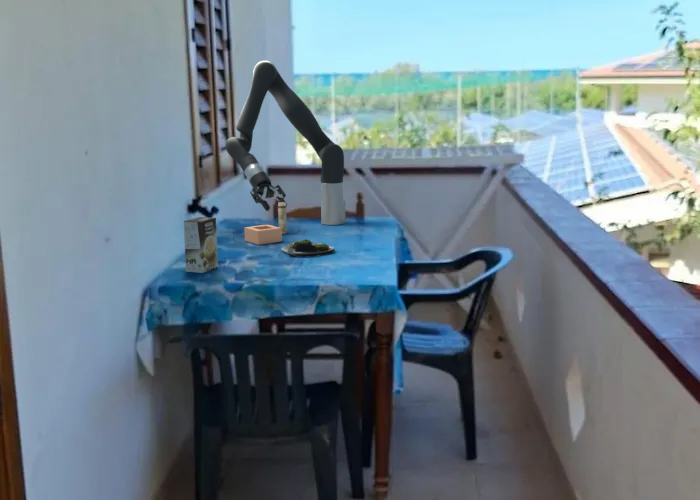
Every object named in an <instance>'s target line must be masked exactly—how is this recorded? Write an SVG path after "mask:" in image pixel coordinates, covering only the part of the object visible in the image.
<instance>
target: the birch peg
mask: <svg viewBox="0 0 700 500" xmlns="http://www.w3.org/2000/svg"><path fill="white" fill-rule="evenodd" d="M285 202H286V201H285ZM285 202H280V203H279V202H277V203H278V204H277V212H278V213H277V214H278V217H277V218H278V227H279V228H282V235H284V234H285V235H286V234H287V233H288V231H287V206H286V203H287V202H286V203H285Z"/></svg>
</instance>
